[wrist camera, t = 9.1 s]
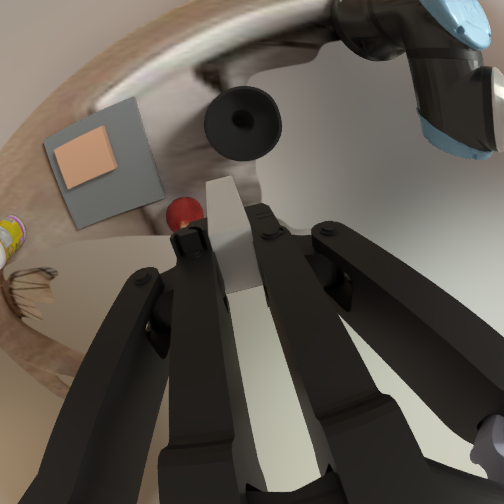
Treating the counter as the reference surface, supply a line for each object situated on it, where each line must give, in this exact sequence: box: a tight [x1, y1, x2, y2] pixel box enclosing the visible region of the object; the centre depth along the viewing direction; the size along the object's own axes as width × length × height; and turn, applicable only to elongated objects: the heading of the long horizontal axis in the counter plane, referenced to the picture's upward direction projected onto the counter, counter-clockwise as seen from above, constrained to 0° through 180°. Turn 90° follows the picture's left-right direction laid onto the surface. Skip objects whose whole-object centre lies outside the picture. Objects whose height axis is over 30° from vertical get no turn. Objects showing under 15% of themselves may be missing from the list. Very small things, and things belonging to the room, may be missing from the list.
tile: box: [54, 125, 118, 189], centre depth 34 cm, size 2×7×9 cm
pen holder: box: [204, 86, 282, 161], centre depth 34 cm, size 9×9×10 cm
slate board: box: [43, 97, 166, 229], centre depth 37 cm, size 17×17×1 cm
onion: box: [166, 197, 204, 233], centre depth 41 cm, size 6×6×8 cm
